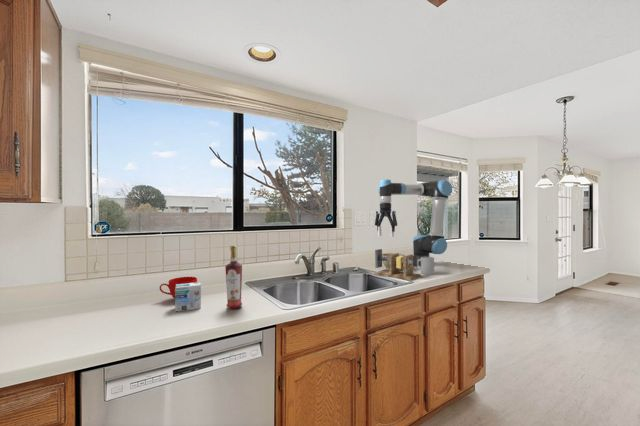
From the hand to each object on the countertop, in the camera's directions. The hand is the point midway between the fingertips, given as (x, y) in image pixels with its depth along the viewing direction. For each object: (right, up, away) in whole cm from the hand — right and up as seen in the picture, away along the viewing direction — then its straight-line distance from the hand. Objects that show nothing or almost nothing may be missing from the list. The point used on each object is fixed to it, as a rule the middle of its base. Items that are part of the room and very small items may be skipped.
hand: (385, 236), depth 200 cm
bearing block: (+6, -25, -5) cm, 27 cm away
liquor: (-83, -27, -66) cm, 109 cm away
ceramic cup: (-114, -28, -53) cm, 129 cm away
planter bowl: (+8, -25, +15) cm, 30 cm away
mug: (+27, -25, 0) cm, 37 cm away
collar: (+8, -20, -7) cm, 22 cm away
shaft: (+5, -21, -4) cm, 22 cm away
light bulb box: (-104, -28, -65) cm, 126 cm away
